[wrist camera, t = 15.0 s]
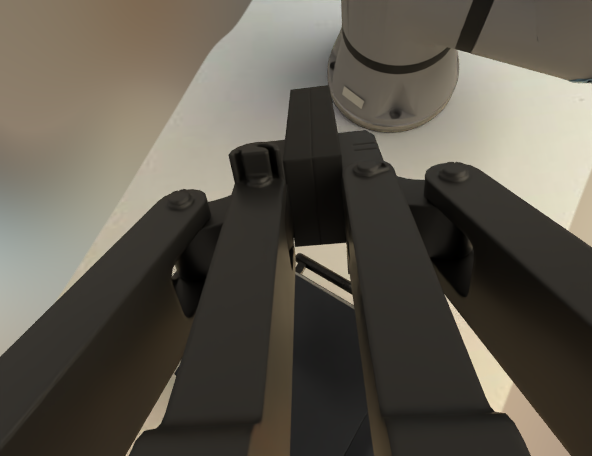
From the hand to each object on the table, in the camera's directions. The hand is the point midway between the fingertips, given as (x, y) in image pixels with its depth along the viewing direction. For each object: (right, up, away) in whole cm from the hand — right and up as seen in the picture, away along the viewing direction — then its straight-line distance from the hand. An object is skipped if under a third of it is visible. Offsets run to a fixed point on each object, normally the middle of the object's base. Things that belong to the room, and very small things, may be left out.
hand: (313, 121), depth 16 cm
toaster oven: (+2, -17, +26) cm, 31 cm away
